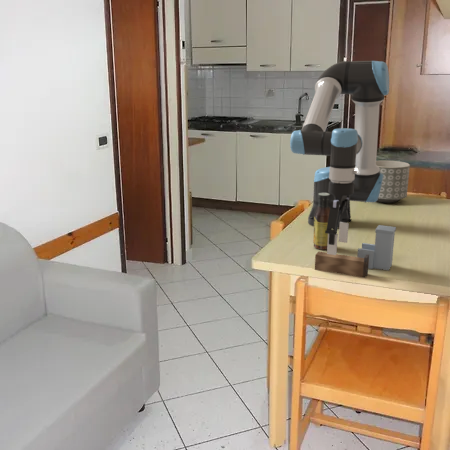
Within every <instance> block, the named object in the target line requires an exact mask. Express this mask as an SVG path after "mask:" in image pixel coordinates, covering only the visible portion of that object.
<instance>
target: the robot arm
mask: <svg viewBox="0 0 450 450" xmlns="http://www.w3.org/2000/svg"><path fill="white" fill-rule="evenodd" d="M389 92H390V73H389V68H388V64H387V62H384V61H382V60H381V61H378V60H354V61H353V60H351V61H349V60H346V61H345V60H344V61H340V62H337V63H334V64H332V65H330V67H328V68H326V69H325V70H324V71H323V72H322V73H321V74H320V75H319V77H318V78H317V80H316V82H315V84H314V95H313V99H312V102H311V104H310V105H309V109H308V112H307V114H306V117H305V120H304V122H303V125H302V128H301V129H299V130H294V131H292V132H291V135H290V140H289V143H290V144H289V146H290V151H291V153H292V154H297V155H303V156H304V155H305V156H306V155H308V156H309V155H310V156H311V155H312V156H326V157H329V156H330V158H329V162H330V163H329V166H327V167H321V168H318V169H317V170H315V172H314V178H313V201H312V202H313V203H312V207H311V209H310V212H309V214H308V216H307V217H308V218H307V222H308V224H309V225H310V226H313V227H314V215H315V212H316V210H317V207H318V194H319V193H329V194H330V198H329V208H330V213H329V218H328V224H327V229H326V230H325V233H328V244H327V249H326V253H327V254H331V255H336V254H338V253H337V250H338V242H339V243H344V244H347V243H348V237H349V224H350V223H351V222H352V215H351V202H359V203H360V202H361V203H362V202H363V203H376V202H378V201H377V200H378V197H379V194H380V190H381V185H382V181H383V174H382V173H380V168H379V167H378V166H377V165H376V161H377V155H378V151H377V150H378V140H379V139H378V138H379V137H378V135H379V123H380V122H379V119H380V104H381V103H382V102H383V101H384V100H385V96H387V95H389V94H390V93H389ZM341 95H351V101H352V102H353V103H354V105H355V108H354V109H355V110H354V128H349V127H347V128H345V127H343V128H341V127H339V128H334V129H333V130H332V131H326V130H327V127H328V124H329V121H330V118H331V115H332V112H333V109H334V106H335V104H336V100H337V99H338V98H339V97H340V96H341ZM331 229H332V230H331Z"/></svg>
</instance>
